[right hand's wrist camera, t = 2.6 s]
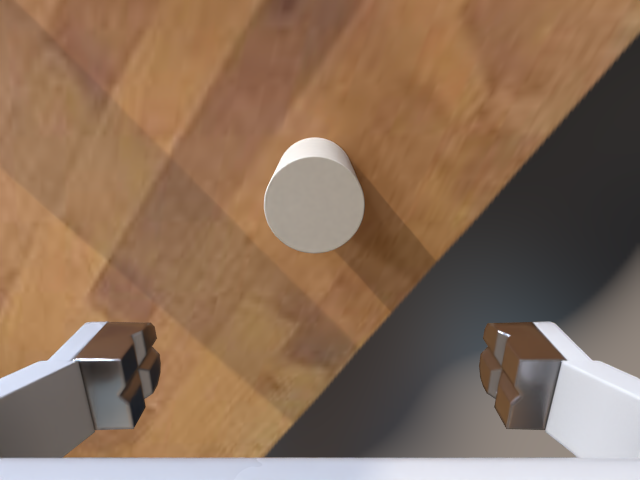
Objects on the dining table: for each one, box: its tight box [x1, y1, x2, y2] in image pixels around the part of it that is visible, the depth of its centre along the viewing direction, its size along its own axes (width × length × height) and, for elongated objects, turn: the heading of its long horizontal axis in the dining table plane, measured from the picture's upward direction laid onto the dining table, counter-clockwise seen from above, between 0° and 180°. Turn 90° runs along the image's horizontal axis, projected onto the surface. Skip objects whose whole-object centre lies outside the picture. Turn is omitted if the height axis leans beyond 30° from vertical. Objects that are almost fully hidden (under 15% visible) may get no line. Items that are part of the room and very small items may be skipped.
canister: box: [264, 138, 365, 253], centre depth 26 cm, size 5×5×8 cm
